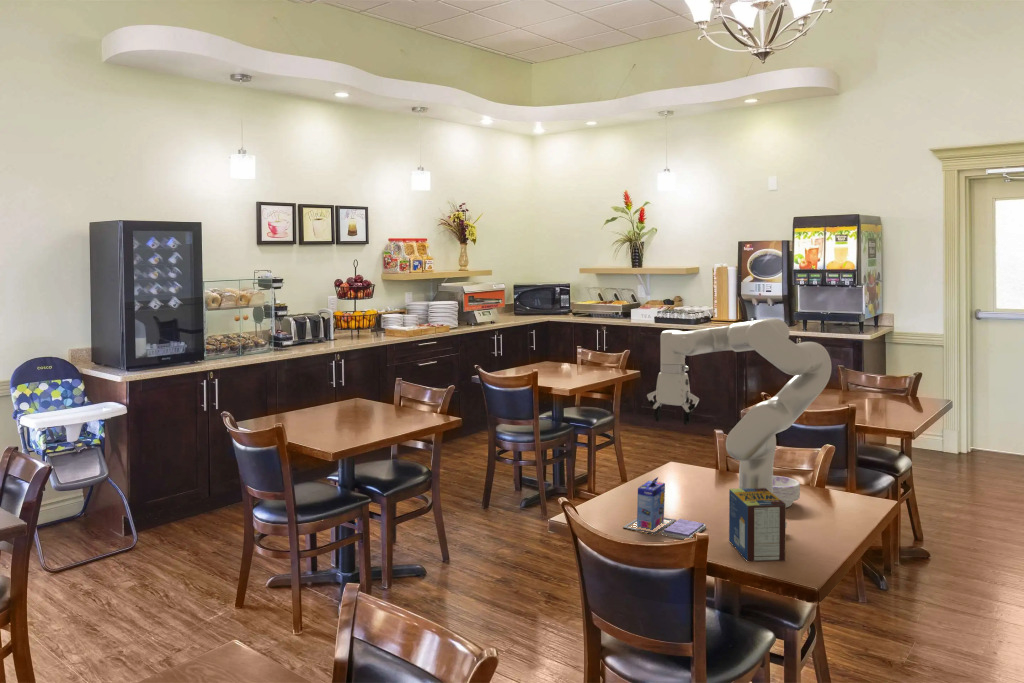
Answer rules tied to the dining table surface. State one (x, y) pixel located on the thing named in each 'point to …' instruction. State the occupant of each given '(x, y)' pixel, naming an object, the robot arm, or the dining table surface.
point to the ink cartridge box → (650, 504)
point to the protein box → (757, 524)
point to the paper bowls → (786, 489)
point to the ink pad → (683, 529)
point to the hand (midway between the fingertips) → (672, 422)
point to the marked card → (650, 531)
